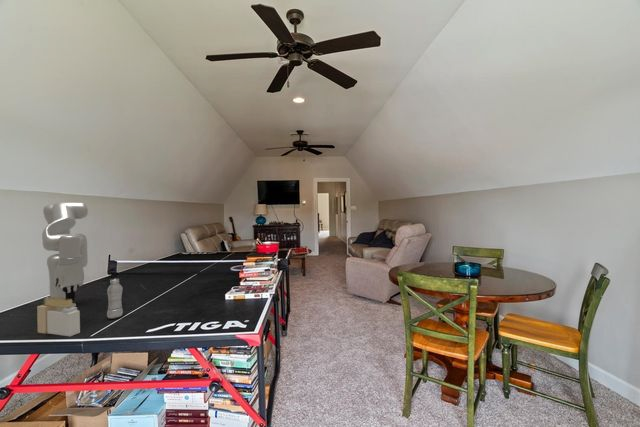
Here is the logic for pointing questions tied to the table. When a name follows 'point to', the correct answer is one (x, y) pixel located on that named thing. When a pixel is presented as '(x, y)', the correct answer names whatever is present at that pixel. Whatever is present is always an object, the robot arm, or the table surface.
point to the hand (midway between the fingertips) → (70, 300)
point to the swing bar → (57, 301)
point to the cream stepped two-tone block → (58, 320)
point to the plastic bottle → (114, 299)
